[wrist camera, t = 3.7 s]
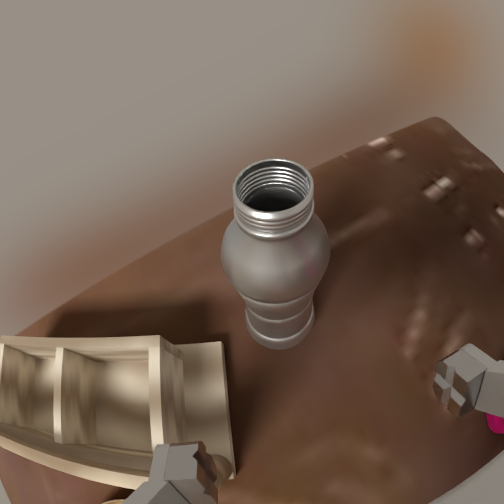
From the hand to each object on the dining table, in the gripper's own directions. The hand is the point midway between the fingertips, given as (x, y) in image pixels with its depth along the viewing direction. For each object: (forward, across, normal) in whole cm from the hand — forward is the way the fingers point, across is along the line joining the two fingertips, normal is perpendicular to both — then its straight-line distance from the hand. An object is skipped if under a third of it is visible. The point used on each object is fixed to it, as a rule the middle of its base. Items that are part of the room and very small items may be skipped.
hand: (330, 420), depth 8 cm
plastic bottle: (+21, -1, +7) cm, 22 cm away
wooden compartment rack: (+17, +21, +10) cm, 29 cm away
